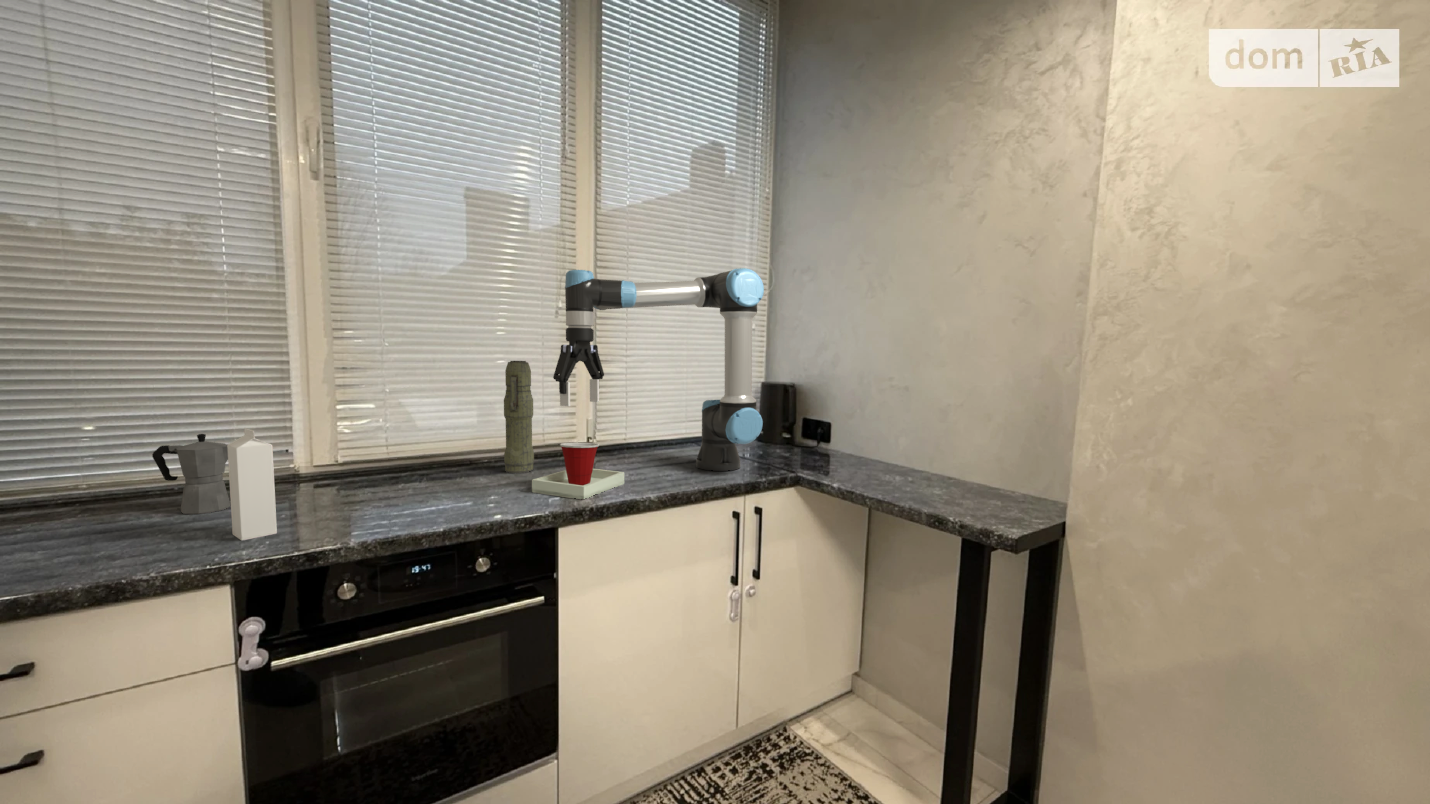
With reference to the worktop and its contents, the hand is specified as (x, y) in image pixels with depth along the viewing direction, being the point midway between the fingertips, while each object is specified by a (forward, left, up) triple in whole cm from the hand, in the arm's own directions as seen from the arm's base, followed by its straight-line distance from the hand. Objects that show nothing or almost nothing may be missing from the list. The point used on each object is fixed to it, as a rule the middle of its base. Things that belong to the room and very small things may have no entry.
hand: (580, 403), depth 162 cm
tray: (0, 0, -24) cm, 24 cm away
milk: (+36, +63, -24) cm, 76 cm away
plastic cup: (0, 0, -23) cm, 23 cm away
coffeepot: (+66, +58, -24) cm, 91 cm away
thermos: (+31, -10, -24) cm, 40 cm away
